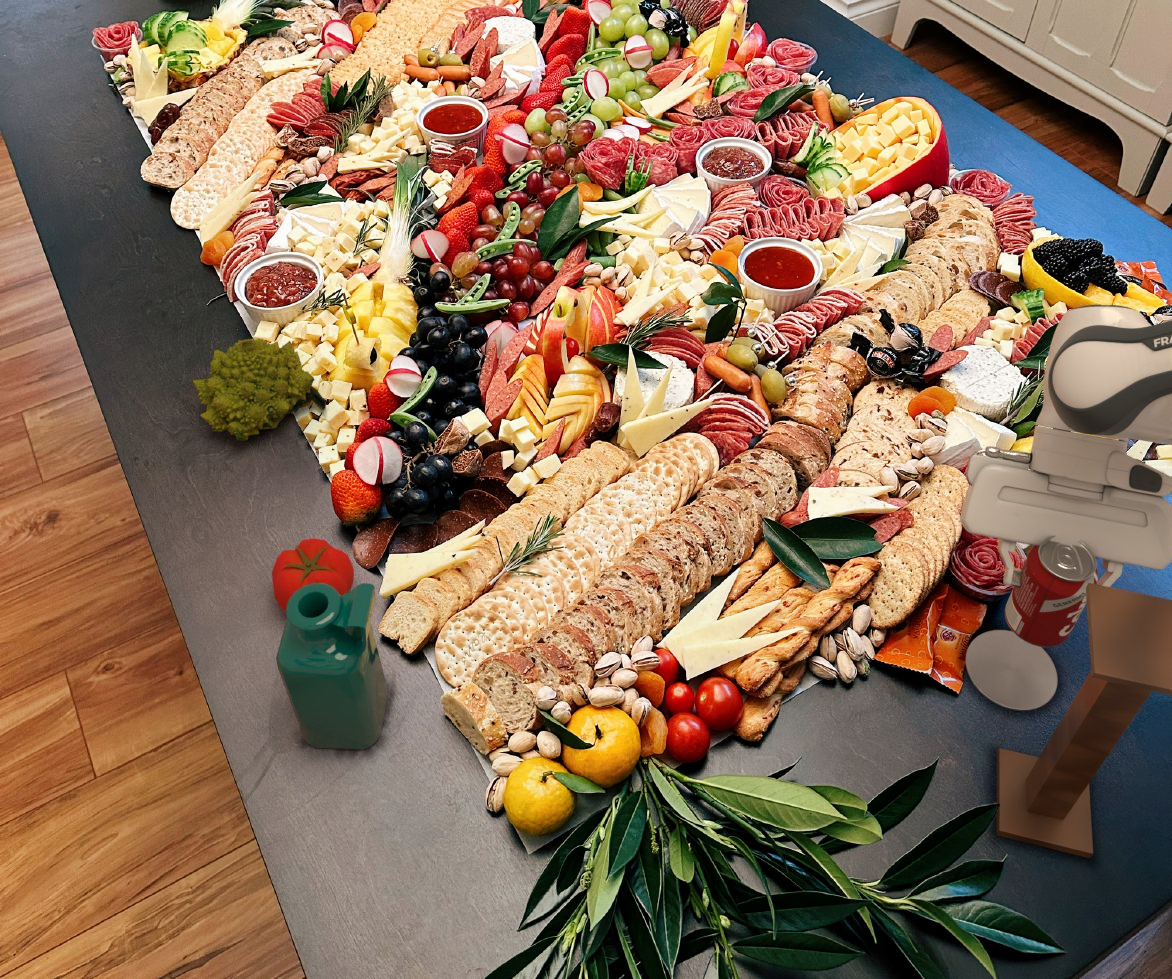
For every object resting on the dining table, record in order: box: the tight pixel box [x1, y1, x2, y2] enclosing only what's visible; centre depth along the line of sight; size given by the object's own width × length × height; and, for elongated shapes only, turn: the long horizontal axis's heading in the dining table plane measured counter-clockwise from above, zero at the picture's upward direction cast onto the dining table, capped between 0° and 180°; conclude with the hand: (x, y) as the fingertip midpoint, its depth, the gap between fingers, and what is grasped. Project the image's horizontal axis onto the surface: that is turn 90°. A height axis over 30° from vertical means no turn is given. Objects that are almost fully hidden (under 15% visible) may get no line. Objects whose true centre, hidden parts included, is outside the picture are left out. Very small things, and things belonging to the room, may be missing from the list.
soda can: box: [1004, 535, 1099, 648], centre depth 116 cm, size 7×7×12 cm
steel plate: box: [964, 629, 1059, 712], centre depth 127 cm, size 10×10×1 cm
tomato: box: [271, 537, 355, 614], centre depth 132 cm, size 9×9×8 cm
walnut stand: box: [996, 583, 1172, 859], centre depth 105 cm, size 9×9×32 cm
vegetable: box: [192, 337, 328, 442], centre depth 153 cm, size 15×16×15 cm
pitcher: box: [275, 582, 389, 750], centre depth 116 cm, size 10×8×22 cm
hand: (1052, 594), depth 115 cm, fingers closed on soda can, 7 cm apart
